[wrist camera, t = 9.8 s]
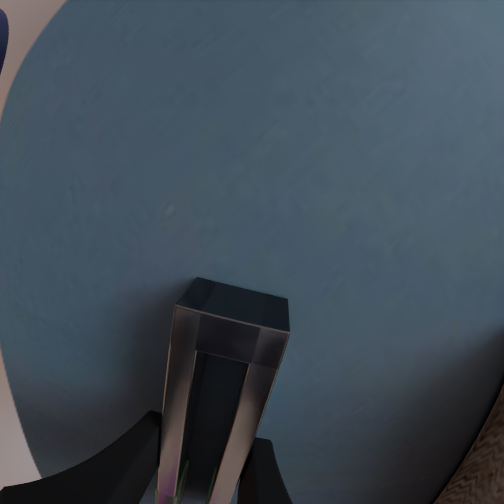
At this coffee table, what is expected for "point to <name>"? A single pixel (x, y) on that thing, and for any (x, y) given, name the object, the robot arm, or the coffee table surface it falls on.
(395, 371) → the coffee table surface
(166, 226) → the coffee table surface
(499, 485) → the book
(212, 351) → the tongs
